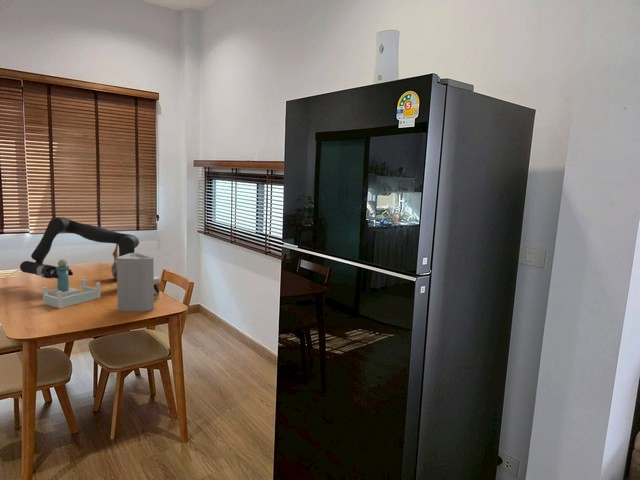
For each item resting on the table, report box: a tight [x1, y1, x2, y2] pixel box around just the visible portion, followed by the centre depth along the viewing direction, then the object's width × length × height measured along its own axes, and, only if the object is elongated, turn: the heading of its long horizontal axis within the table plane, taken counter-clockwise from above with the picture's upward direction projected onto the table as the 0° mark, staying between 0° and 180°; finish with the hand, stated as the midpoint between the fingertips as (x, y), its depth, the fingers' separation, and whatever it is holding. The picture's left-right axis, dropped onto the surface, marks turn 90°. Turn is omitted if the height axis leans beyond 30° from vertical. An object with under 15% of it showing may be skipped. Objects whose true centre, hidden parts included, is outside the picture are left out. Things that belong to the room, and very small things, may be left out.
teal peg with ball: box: [55, 259, 70, 292], centre depth 239 cm, size 6×6×18 cm
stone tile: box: [47, 286, 81, 298], centre depth 240 cm, size 12×12×2 cm
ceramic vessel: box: [110, 244, 120, 281], centre depth 276 cm, size 16×9×25 cm, turn 44°
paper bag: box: [116, 252, 155, 312], centre depth 220 cm, size 19×15×28 cm
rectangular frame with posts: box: [42, 278, 101, 309], centre depth 228 cm, size 14×24×9 cm, turn 154°
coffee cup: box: [154, 275, 161, 300], centre depth 240 cm, size 9×9×12 cm
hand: (64, 275), depth 238 cm, fingers open, 8 cm apart
